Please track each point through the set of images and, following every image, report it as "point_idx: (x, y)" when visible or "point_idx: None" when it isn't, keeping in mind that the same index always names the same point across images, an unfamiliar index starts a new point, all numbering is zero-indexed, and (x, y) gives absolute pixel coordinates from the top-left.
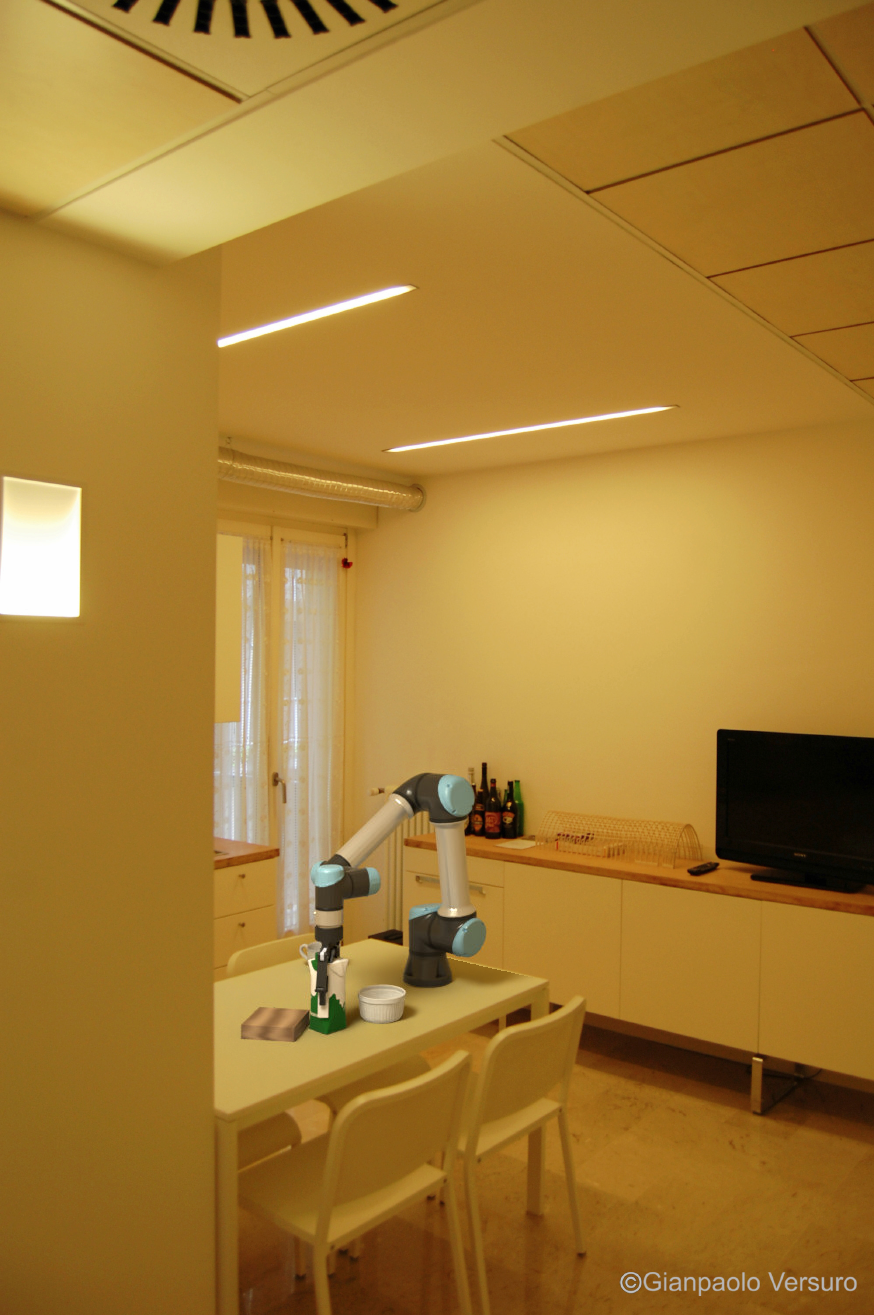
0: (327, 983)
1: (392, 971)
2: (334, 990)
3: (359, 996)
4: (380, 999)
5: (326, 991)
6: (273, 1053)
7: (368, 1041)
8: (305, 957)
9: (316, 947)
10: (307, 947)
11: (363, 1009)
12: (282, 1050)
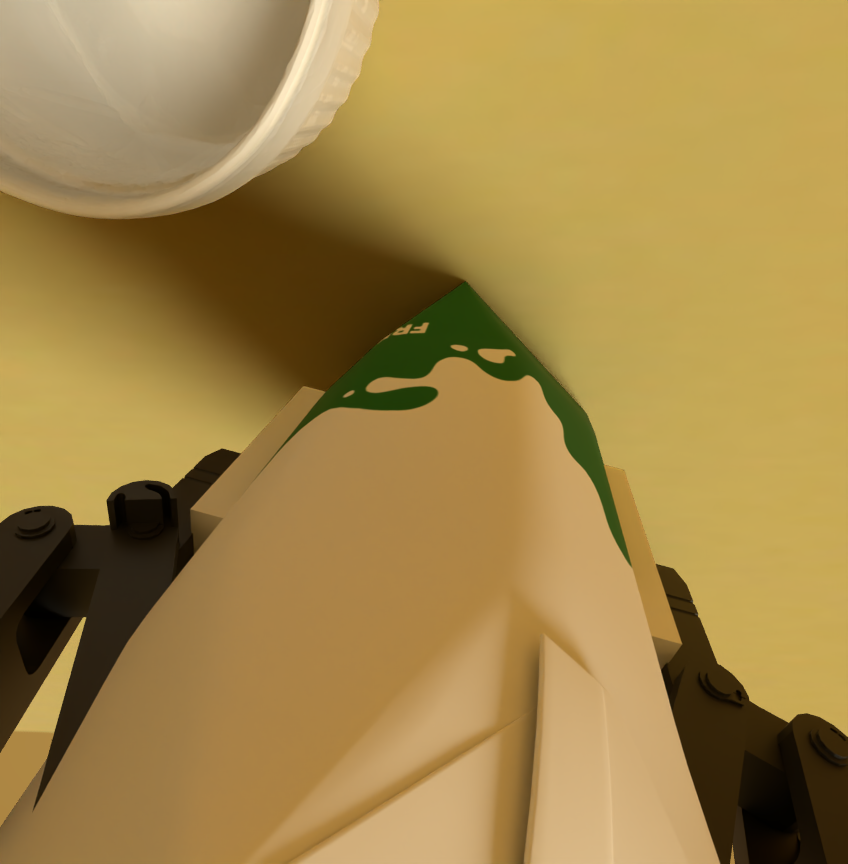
0: (734, 777)
1: None
2: (632, 585)
3: (212, 195)
4: None
5: (742, 690)
6: (804, 657)
7: (827, 75)
8: None
9: None
10: None
11: (299, 142)
12: (775, 624)
